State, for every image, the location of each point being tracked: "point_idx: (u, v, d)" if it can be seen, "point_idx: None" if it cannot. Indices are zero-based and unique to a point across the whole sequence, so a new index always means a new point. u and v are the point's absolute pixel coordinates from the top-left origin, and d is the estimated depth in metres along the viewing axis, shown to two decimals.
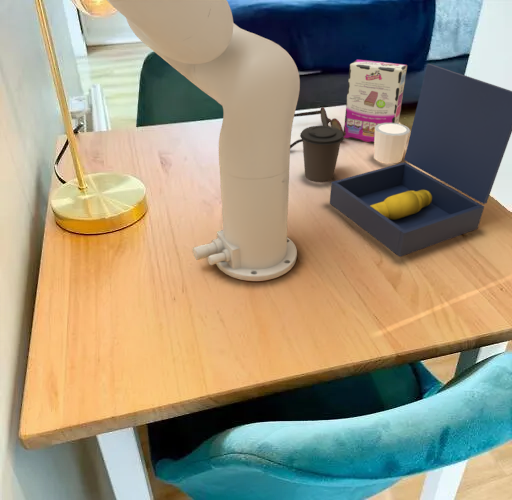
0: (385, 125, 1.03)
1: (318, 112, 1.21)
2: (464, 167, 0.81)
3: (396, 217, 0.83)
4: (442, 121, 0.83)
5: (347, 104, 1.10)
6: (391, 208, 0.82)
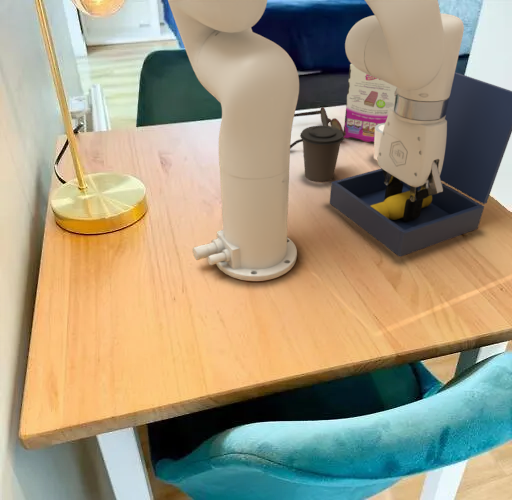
0: None
1: (318, 112, 1.21)
2: (464, 167, 0.81)
3: (396, 217, 0.83)
4: None
5: (347, 104, 1.10)
6: (391, 208, 0.82)
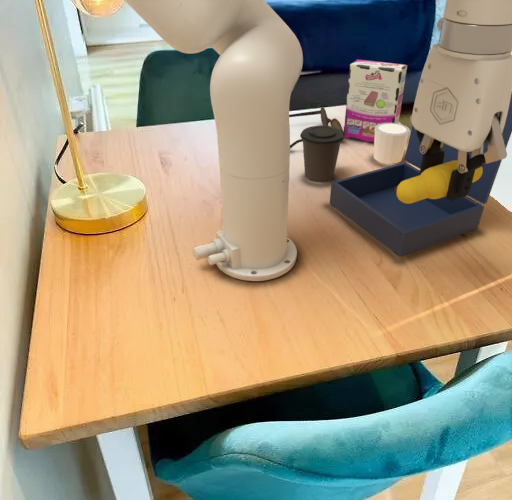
0: (385, 125, 1.03)
1: (318, 112, 1.21)
2: None
3: (438, 195, 0.62)
4: None
5: (347, 104, 1.10)
6: (431, 183, 0.61)
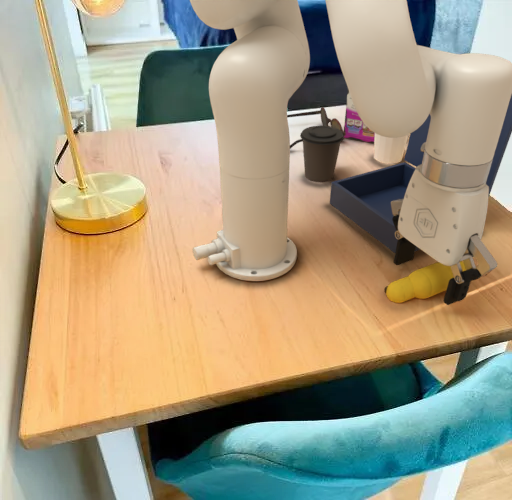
0: None
1: (318, 112, 1.21)
2: None
3: (424, 297, 0.68)
4: None
5: (347, 104, 1.10)
6: (418, 287, 0.67)
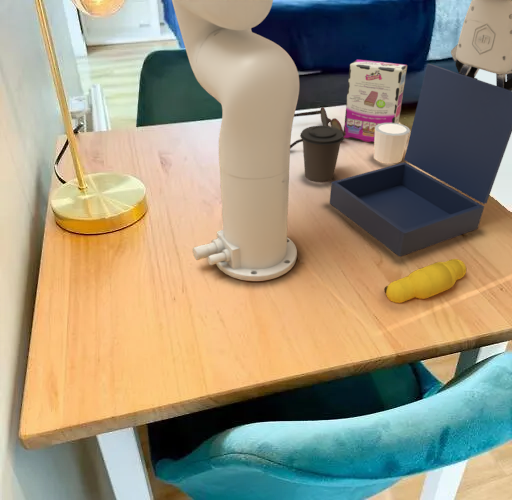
0: (385, 125, 1.03)
1: (318, 112, 1.21)
2: (464, 167, 0.81)
3: (424, 297, 0.68)
4: (442, 121, 0.83)
5: (347, 104, 1.10)
6: (418, 287, 0.67)
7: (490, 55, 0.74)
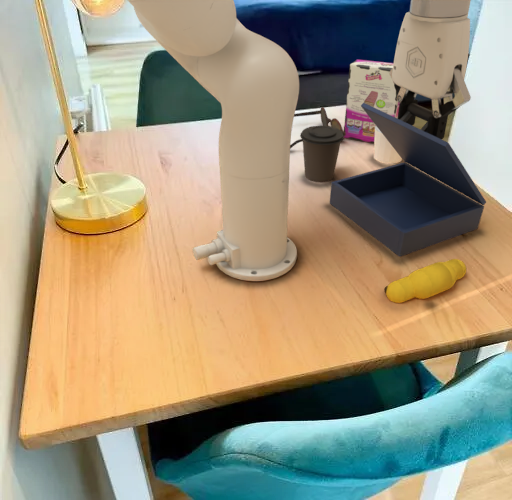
0: None
1: (318, 112, 1.21)
2: (449, 179, 0.81)
3: (424, 297, 0.68)
4: (406, 145, 0.82)
5: (347, 104, 1.10)
6: (418, 287, 0.67)
7: (423, 79, 0.70)
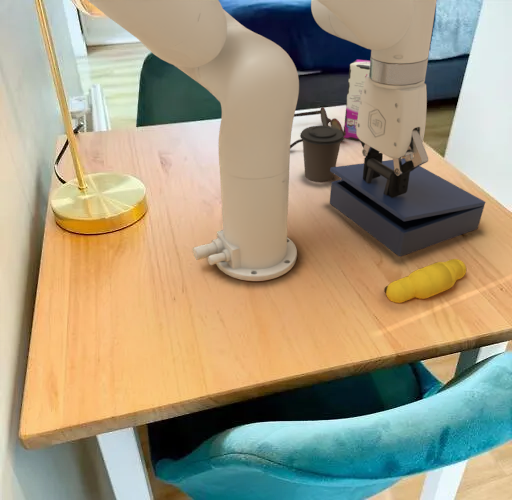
0: None
1: (318, 112, 1.21)
2: None
3: (424, 297, 0.68)
4: None
5: (347, 104, 1.10)
6: (418, 287, 0.67)
7: (383, 139, 0.72)
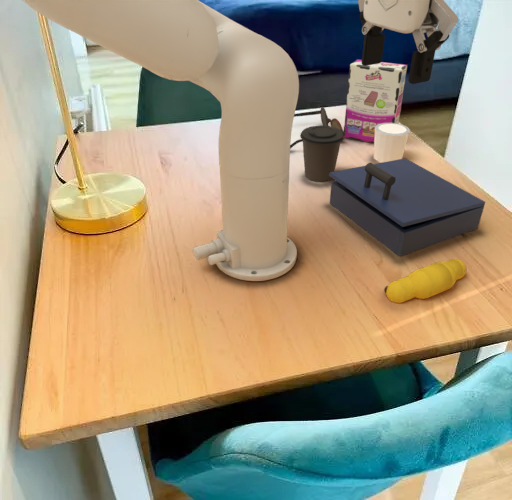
0: (385, 125, 1.03)
1: (318, 112, 1.21)
2: None
3: (424, 297, 0.68)
4: None
5: (347, 104, 1.10)
6: (418, 287, 0.67)
7: (396, 11, 0.62)
